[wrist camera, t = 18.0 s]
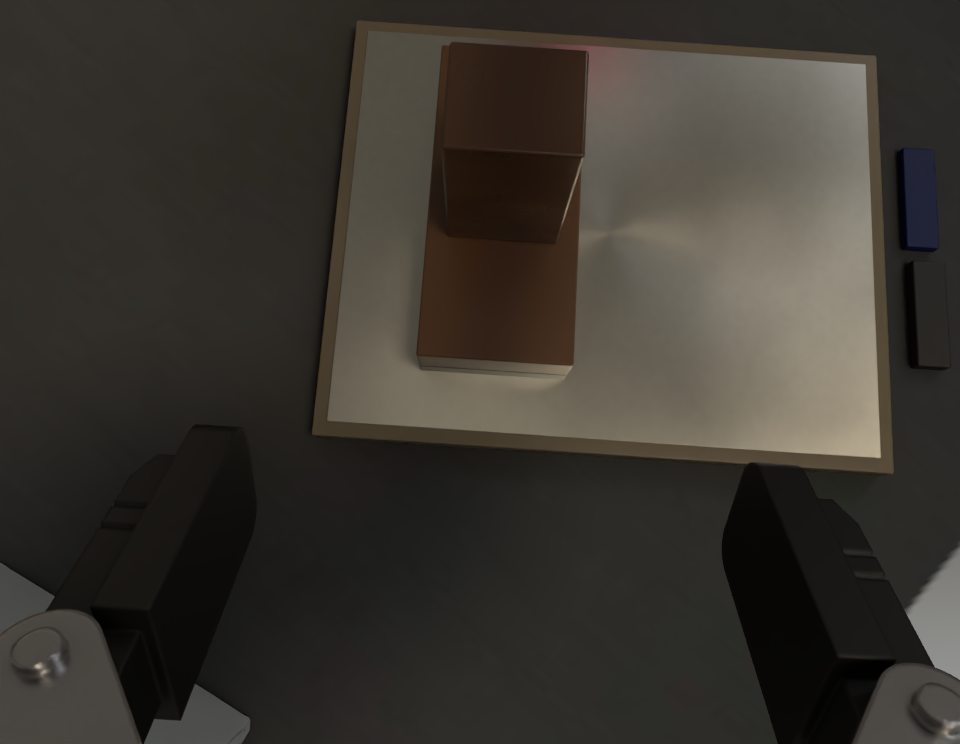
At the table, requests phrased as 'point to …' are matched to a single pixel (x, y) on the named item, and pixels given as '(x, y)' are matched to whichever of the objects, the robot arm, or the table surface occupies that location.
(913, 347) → the block
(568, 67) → the eraser
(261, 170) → the table surface
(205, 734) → the cosmetics box
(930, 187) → the bar
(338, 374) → the whiteboard
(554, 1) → the table surface
